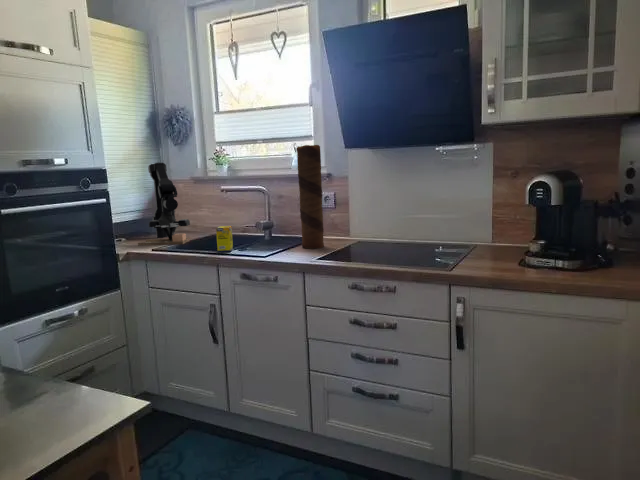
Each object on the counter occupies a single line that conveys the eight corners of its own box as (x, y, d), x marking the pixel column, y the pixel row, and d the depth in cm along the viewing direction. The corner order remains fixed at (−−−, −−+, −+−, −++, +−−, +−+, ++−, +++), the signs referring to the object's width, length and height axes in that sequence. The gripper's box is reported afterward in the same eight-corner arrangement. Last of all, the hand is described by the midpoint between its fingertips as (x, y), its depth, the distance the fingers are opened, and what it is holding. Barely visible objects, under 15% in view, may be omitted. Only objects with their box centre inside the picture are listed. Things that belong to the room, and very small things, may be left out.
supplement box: (230, 252, 228) (229, 227, 226) (217, 252, 228) (215, 227, 226) (233, 249, 234) (231, 225, 232) (220, 250, 234) (218, 226, 232)
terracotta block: (176, 241, 258) (175, 233, 258) (186, 241, 258) (185, 233, 257) (172, 243, 253) (172, 235, 253) (182, 243, 253) (182, 235, 252)
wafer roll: (312, 249, 225) (308, 144, 218) (296, 247, 233) (292, 145, 226) (329, 246, 232) (326, 144, 225) (314, 244, 240) (310, 145, 233)
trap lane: (147, 243, 263) (147, 239, 262) (190, 242, 261) (189, 238, 261) (137, 247, 251) (137, 243, 250) (182, 246, 249) (182, 241, 249)
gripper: (143, 211, 246) (145, 243, 248) (181, 210, 244) (184, 242, 247) (151, 209, 257) (154, 240, 259) (189, 207, 255) (191, 239, 258)
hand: (170, 240), depth 255 cm, fingers closed
